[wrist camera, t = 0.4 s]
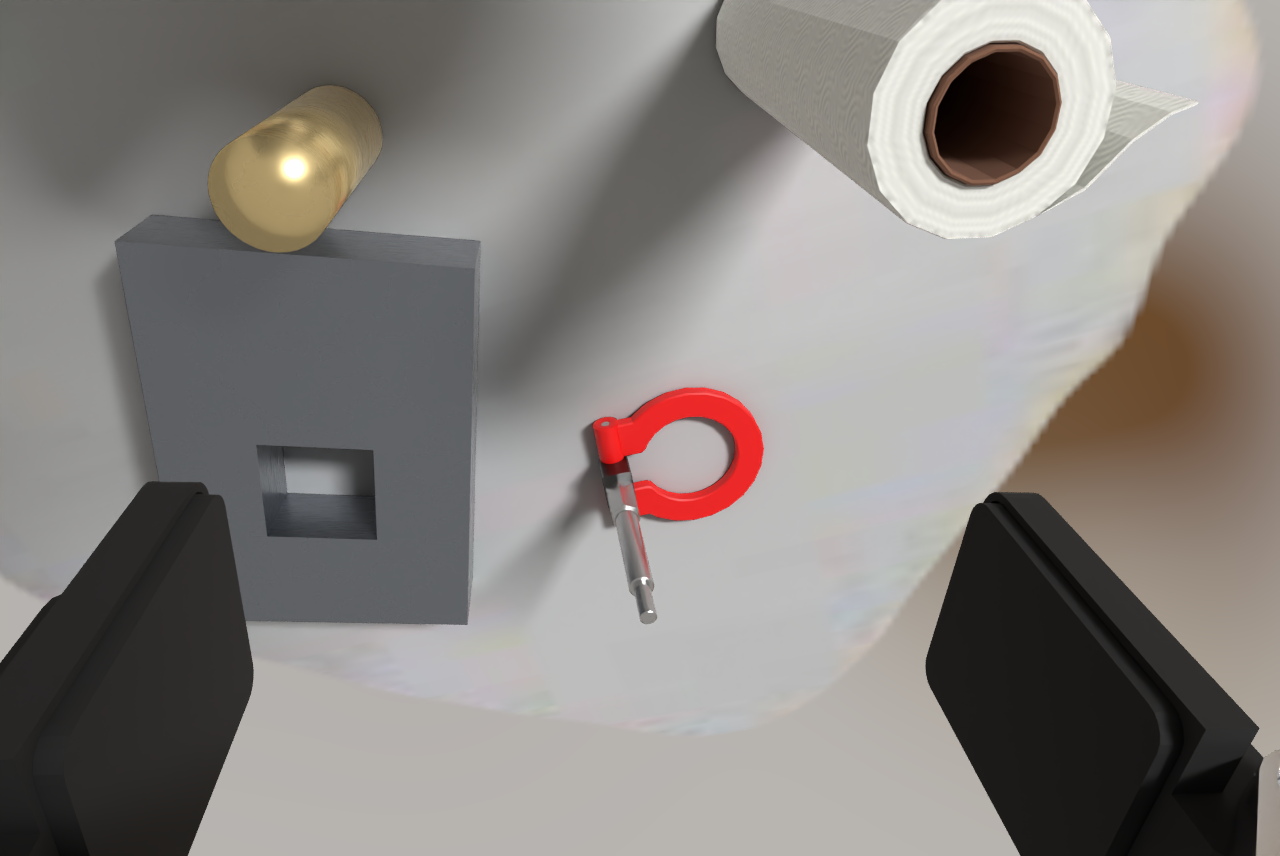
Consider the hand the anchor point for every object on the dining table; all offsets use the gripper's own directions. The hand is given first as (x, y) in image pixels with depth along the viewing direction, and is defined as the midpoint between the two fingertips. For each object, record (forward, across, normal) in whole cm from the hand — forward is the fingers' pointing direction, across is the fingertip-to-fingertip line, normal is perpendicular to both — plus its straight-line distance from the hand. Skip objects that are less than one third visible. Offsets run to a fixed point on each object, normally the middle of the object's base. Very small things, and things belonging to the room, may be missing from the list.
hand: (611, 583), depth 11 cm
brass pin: (+33, +10, +1) cm, 35 cm away
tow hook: (+34, -8, +17) cm, 39 cm away
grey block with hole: (+34, +12, +16) cm, 39 cm away
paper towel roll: (+33, -10, -5) cm, 35 cm away
